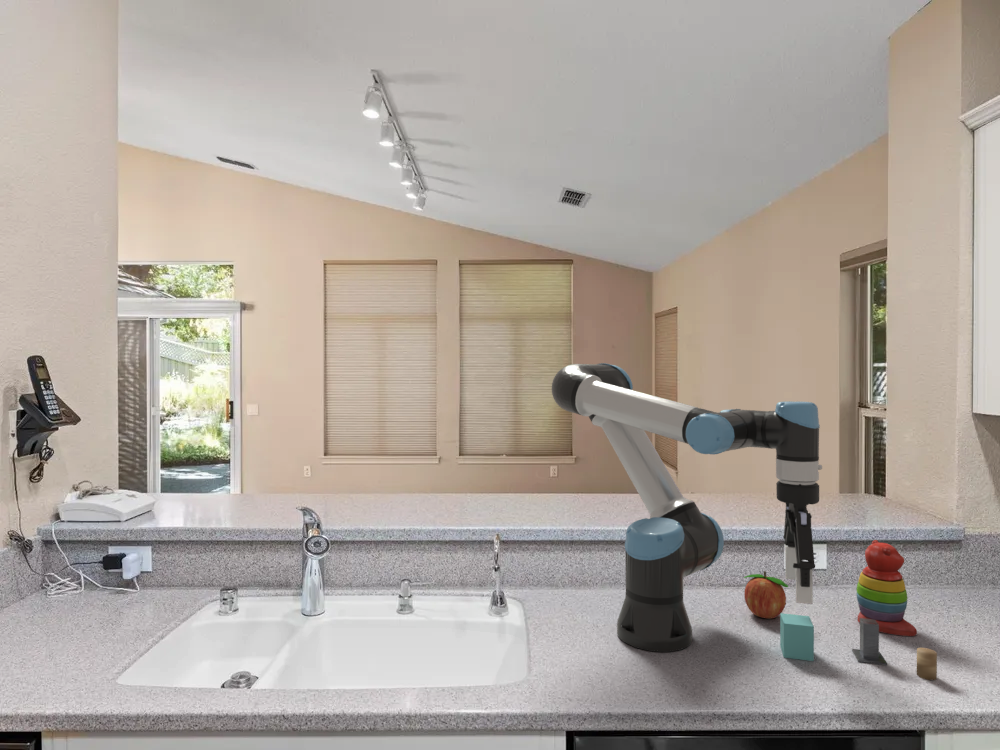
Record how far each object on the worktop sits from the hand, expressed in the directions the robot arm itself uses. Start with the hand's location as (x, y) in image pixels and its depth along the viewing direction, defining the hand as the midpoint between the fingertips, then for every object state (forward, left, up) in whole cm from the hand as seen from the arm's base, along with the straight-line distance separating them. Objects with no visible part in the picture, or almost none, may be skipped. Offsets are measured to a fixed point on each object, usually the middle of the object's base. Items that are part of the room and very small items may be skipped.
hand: (798, 590), depth 121 cm
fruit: (-4, +18, -13) cm, 22 cm away
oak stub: (+21, -3, -12) cm, 24 cm away
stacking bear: (+20, +20, -13) cm, 31 cm away
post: (+13, +2, -12) cm, 18 cm away
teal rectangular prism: (0, 0, -12) cm, 12 cm away
